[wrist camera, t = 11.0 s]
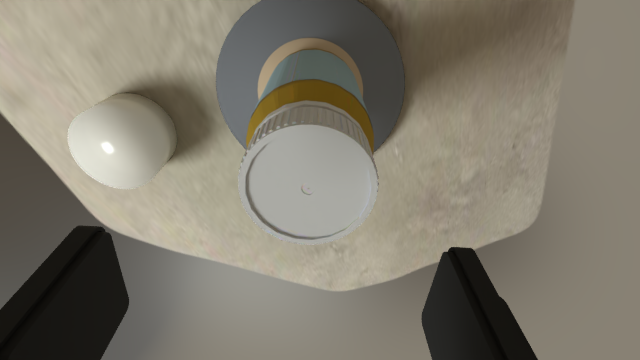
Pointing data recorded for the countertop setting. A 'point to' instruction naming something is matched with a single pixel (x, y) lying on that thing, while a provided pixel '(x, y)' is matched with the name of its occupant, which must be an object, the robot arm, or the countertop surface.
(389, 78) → the disc
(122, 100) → the white smooth round part
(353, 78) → the bottle
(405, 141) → the countertop surface
